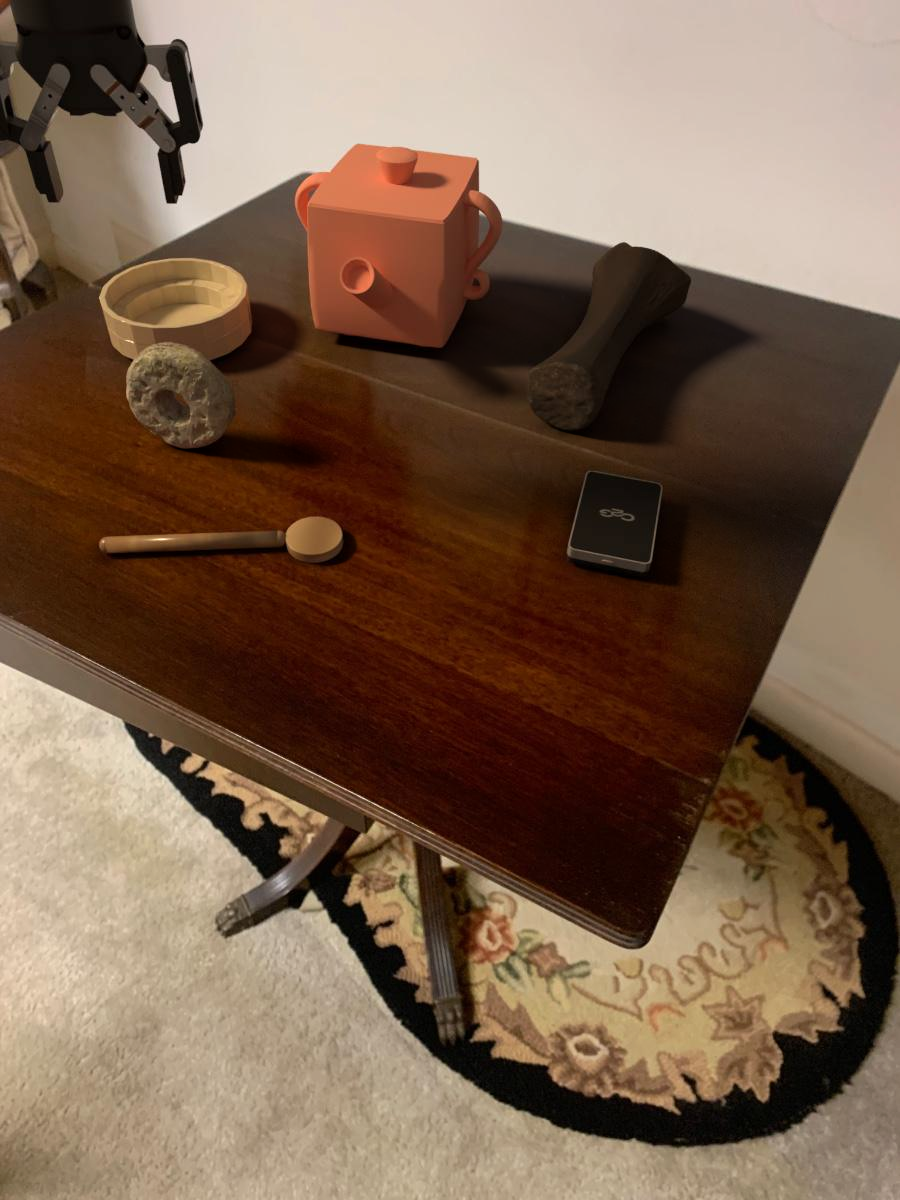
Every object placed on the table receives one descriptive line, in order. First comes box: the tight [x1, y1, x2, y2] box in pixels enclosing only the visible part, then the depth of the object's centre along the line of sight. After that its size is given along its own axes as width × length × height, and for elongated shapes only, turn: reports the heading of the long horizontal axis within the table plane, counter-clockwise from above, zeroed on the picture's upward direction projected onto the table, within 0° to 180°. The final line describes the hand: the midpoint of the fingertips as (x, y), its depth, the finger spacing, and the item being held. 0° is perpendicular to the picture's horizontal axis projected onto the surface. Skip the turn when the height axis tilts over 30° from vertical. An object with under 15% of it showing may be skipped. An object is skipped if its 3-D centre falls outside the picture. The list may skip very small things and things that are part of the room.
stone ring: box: [125, 342, 236, 449], centre depth 81 cm, size 10×4×10 cm, turn 73°
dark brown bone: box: [526, 241, 692, 432], centre depth 94 cm, size 11×10×28 cm
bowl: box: [98, 257, 253, 362], centre depth 96 cm, size 15×15×5 cm
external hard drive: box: [566, 470, 663, 578], centre depth 77 cm, size 7×11×2 cm, turn 165°
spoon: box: [98, 516, 344, 564], centre depth 74 cm, size 20×5×1 cm, turn 95°
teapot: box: [294, 143, 503, 349], centre depth 94 cm, size 25×23×18 cm
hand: (115, 199), depth 67 cm, fingers open, 8 cm apart
